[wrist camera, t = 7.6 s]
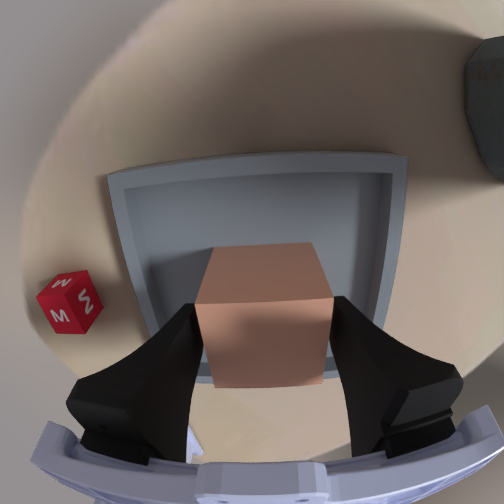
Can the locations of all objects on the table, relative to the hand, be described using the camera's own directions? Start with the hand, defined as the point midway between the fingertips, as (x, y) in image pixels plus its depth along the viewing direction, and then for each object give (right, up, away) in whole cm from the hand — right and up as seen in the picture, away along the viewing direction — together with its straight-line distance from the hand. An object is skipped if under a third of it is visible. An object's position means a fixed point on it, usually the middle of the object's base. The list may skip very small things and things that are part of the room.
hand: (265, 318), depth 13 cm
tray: (0, +1, +3) cm, 3 cm away
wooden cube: (0, +1, +3) cm, 3 cm away
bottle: (+16, +12, -2) cm, 21 cm away
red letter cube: (-13, 0, +4) cm, 13 cm away
